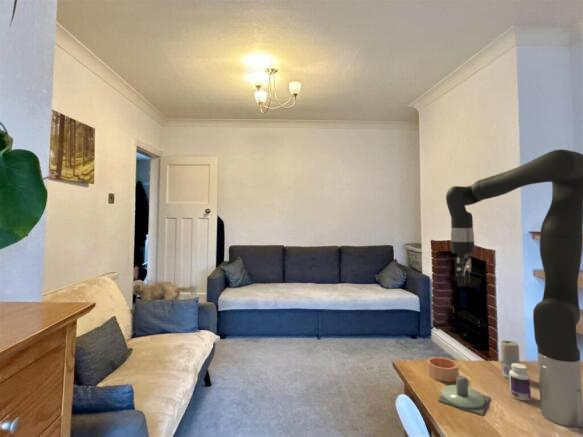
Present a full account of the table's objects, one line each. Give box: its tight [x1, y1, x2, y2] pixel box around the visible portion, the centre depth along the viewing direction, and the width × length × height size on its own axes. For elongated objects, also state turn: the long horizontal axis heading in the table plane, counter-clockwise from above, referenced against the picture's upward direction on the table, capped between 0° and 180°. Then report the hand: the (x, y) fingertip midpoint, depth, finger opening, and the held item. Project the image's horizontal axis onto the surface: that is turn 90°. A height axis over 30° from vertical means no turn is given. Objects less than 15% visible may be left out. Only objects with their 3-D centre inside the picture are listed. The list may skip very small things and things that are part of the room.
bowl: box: [426, 356, 460, 383], centre depth 115 cm, size 10×10×5 cm
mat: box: [437, 393, 491, 417], centre depth 99 cm, size 12×12×1 cm
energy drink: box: [500, 340, 521, 379], centre depth 113 cm, size 5×5×12 cm
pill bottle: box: [508, 363, 532, 402], centre depth 100 cm, size 5×5×10 cm
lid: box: [440, 375, 485, 408], centre depth 99 cm, size 12×12×6 cm
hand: (463, 284), depth 116 cm, fingers open, 8 cm apart
